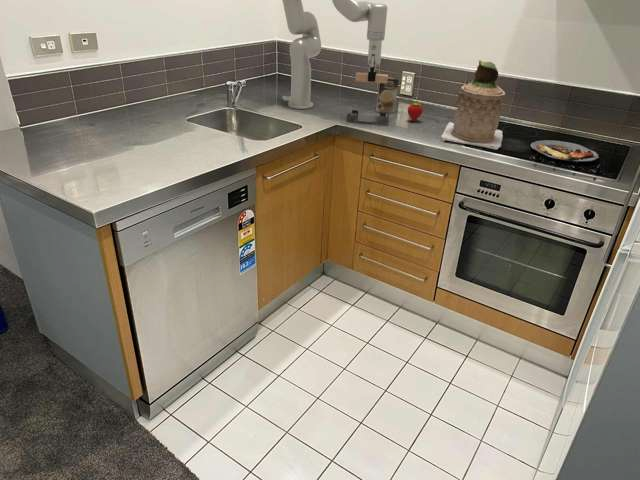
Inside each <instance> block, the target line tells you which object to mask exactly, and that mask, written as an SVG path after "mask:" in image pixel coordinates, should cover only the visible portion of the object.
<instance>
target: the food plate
mask: <svg viewBox="0 0 640 480" xmlns="http://www.w3.org/2000/svg"><path fill="white" fill-rule="evenodd" d="M530 147H531V148H532V149H533V150H535V151H536V152H538V153H539V154H542V155H544V156H545V157H548V158H552V159H555V160H561V161H566V162H575V163H578V162H579V163H580V162H584V163H585V162H590V163H591V162H595V161H596V160H598V159H600V156H599V154H598V153H597V152H596V151H594V150H592V149H590V148H588V147H586V146H583V145H581V144H577V143H573V142H567V141H560V140H550V139H548V140H547V139H544V140H537V141H534V142H531V144H530Z"/></svg>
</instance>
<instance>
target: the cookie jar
mask: <svg viewBox="0 0 640 480" xmlns="http://www.w3.org/2000/svg"><path fill="white" fill-rule="evenodd" d="M474 75H475V76H474V79H473V80H472V81H470V82H469V83H468V84H464V85H462V86H461V87H460V88H459V89H460V92H459V94H458V98H457V100H456V102H457V103H456V104H457V107H456V110H455V113H454V117H453V122H452V121H451V122H450V121H449V122H448V123H447V124H446V126H445V129H444V130H443V133H442V135H440V136H441V139H442V142H444V143H445V141H447V142H452V143H458V144H465V145H470V146H476V147H481V148H485V149H486V148H487V149H492V150H495V151H496V150H498V149H499V148H501V147H502V142H503V137H504V135H503V131H502V130H500V129H498V127H499V124H500V117H501V106H502V102H503V100H504V98H505V97H506V92H505V90H503V88H501V86H498V85H497V84H496V82H497V80H498V77H499V71H498V68H497V67H496V64H495V63H493V62H492V61H482V60H481V59H479V60H478V65H477V68H476V70H475V71H474Z"/></svg>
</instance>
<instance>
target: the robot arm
mask: <svg viewBox="0 0 640 480" xmlns="http://www.w3.org/2000/svg"><path fill="white" fill-rule="evenodd" d="M281 1H282V4H283V9H284V15H285V19H286V25H287V28H288V31H289V33H290V34H292V35H294V36H297V35H301V37H298V38H295V39H293V40H292V42H290V44H289V55H290V65H291V69H290V70H291V71H290V73H291V74H290V78H291V79H290V80H291V81H290V82H291V83H290V95H288V96H287V95H283V96H282V101H285V102H286V101H287V106H288V107H289V108H292V109H297V110H299V109H300V110H307V109H311V108H313V107H314V103H313V102H312V101H311V89H312V86H311V85H312V84H311V83H312V66H311V62H310V59H311V58H315V57H316V56H318V55H320V53H321V50H322V42H321V35H320V29H319V25H318V21H317V18H316V16H315V14H313V13H312V12H310V11H304V6H303V1H302V0H281ZM331 2H332V4H333V6H334V7H335V9H336V11H337V12H339V14H341V15H342V16H343V17H344V18H345V19H347V20H348V21H350V22H353V23H359V22H365V21H367V29H366V31H367V32H366V40H367V41H368V51H367V52H368V53H367V54H368V55H367V64H368V65H369V67H368V72H367V73H368V81H371V82H370V83H374V82H375V76H376V74H377V66H380V64H381V56H382V55H381V54H382V48H383V47H382V46H383V45H382V42H383V41H385V34H386V27H387V26H386V24H387V17H388V16H387V15H388V6H387V4H385V3H379V2H378V3H376V2H375V3H373V2H371V1H355V0H331Z"/></svg>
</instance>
